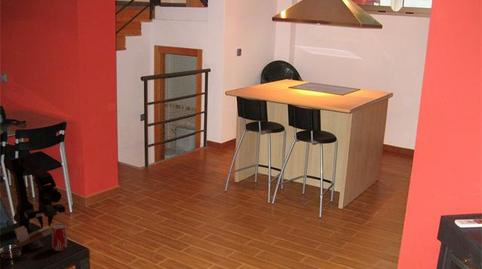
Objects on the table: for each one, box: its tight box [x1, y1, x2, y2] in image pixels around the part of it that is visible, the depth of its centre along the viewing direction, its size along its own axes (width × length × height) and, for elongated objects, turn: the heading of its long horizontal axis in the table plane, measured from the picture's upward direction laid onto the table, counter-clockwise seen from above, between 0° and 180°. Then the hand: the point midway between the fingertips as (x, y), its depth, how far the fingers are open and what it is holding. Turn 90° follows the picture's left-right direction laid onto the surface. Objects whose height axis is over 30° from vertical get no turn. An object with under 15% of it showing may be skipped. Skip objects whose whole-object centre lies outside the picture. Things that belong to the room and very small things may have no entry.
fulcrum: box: [26, 239, 45, 250], centre depth 259 cm, size 8×6×4 cm
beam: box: [13, 226, 53, 249], centre depth 258 cm, size 6×18×2 cm, turn 129°
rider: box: [13, 226, 30, 243], centre depth 254 cm, size 4×4×6 cm
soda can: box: [51, 223, 68, 252], centre depth 255 cm, size 7×7×12 cm
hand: (45, 227), depth 261 cm, fingers open, 3 cm apart
